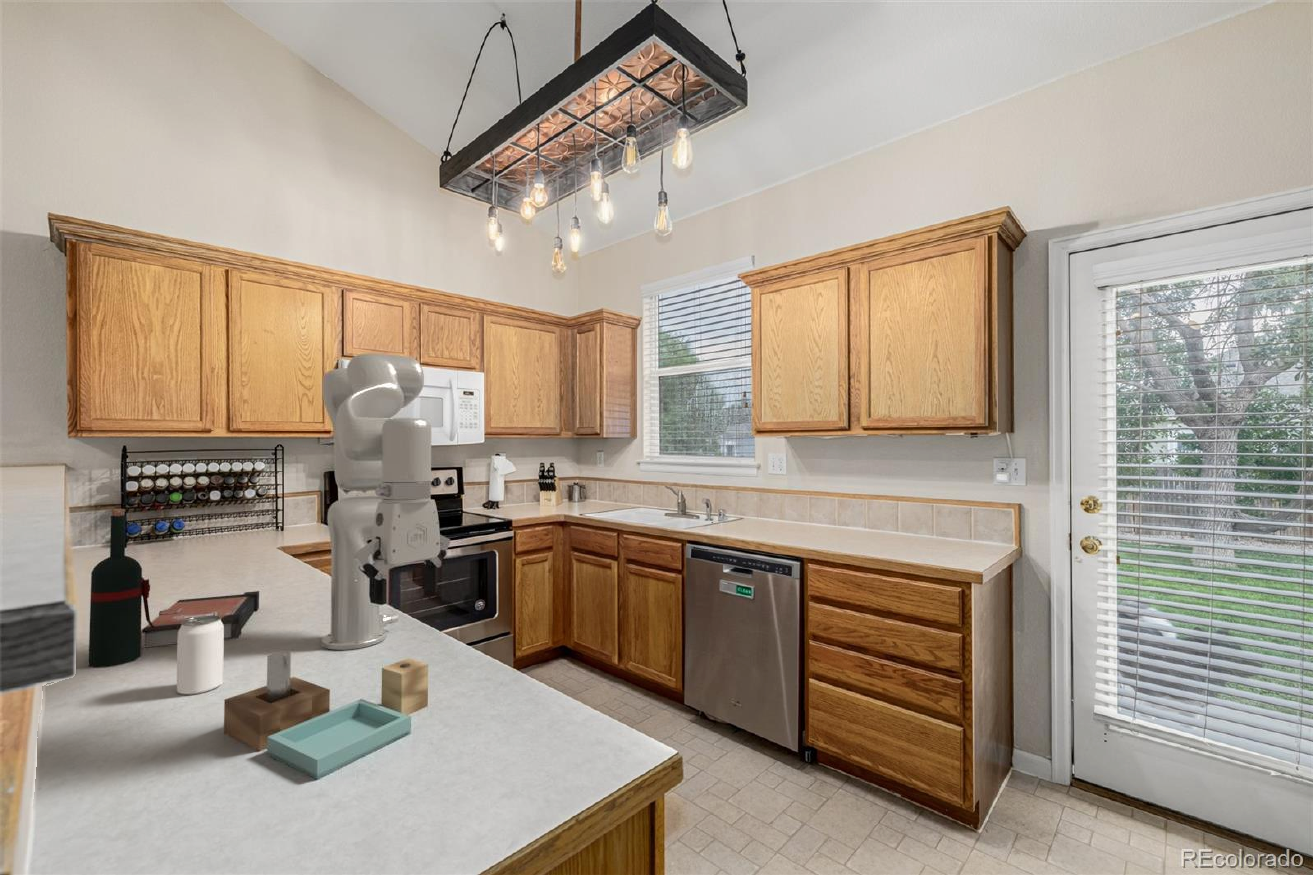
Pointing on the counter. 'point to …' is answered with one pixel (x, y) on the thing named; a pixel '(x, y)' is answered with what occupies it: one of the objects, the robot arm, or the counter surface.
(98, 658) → the wine bottle
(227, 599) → the book
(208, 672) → the can
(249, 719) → the bore block
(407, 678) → the oak block
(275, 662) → the cylinder
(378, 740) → the tray
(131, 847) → the counter surface
